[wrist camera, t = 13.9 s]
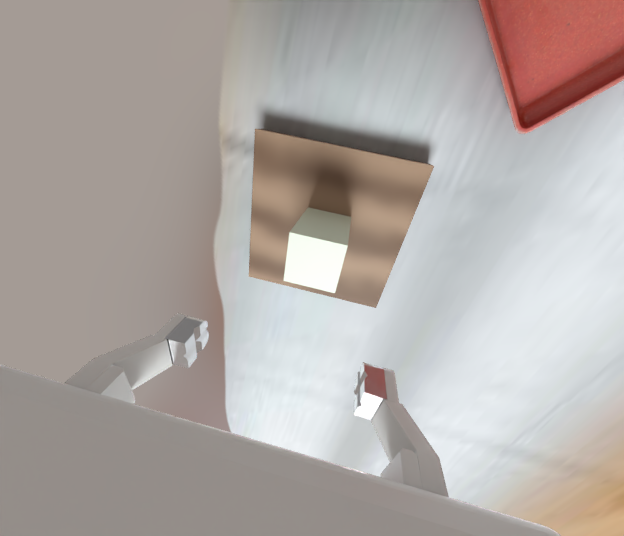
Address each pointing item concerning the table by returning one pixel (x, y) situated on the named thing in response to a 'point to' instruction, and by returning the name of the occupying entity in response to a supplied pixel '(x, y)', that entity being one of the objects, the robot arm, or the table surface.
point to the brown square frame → (554, 53)
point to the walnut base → (332, 207)
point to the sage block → (317, 249)
